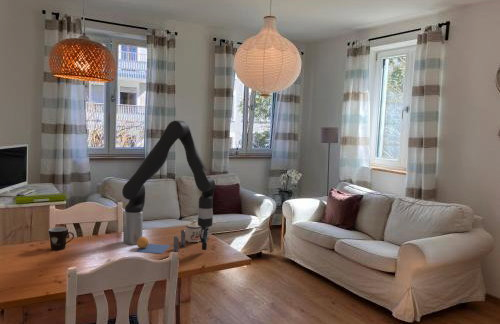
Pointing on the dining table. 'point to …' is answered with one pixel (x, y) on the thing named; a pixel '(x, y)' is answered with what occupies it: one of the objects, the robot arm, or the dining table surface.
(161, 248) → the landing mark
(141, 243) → the ball
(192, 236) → the teacup with lid
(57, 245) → the coffee mug
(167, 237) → the dining table surface
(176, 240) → the post
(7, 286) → the dining table surface
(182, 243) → the post
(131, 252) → the dining table surface
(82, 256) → the dining table surface
